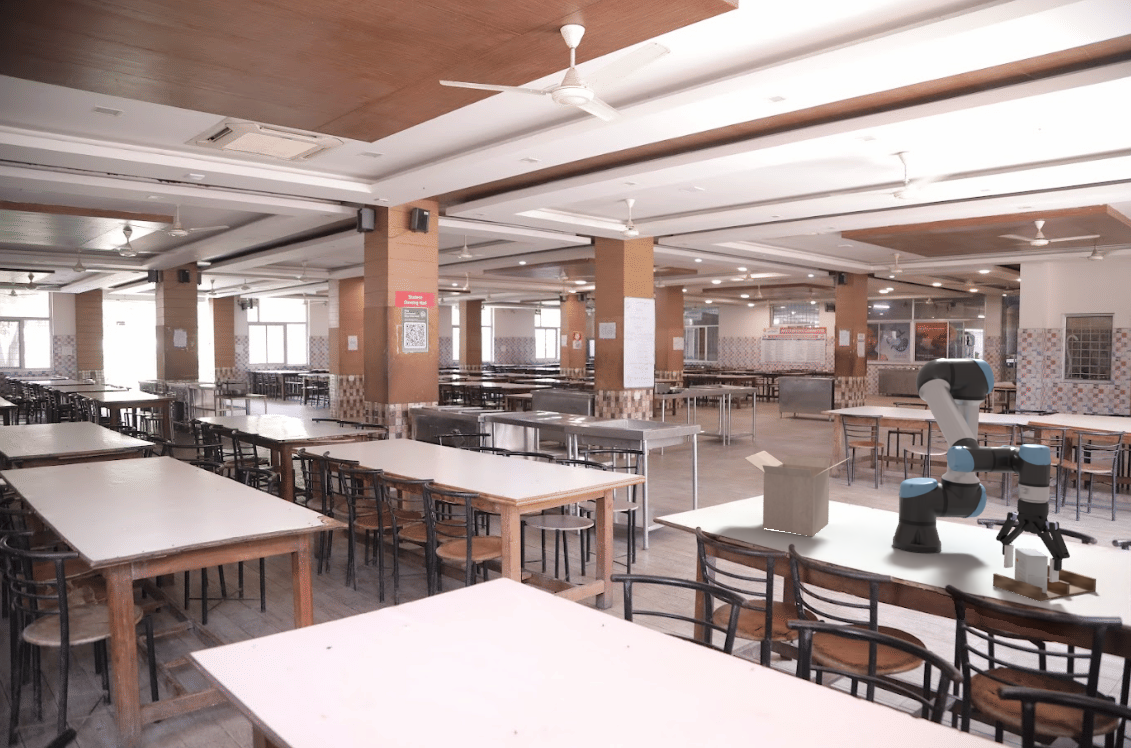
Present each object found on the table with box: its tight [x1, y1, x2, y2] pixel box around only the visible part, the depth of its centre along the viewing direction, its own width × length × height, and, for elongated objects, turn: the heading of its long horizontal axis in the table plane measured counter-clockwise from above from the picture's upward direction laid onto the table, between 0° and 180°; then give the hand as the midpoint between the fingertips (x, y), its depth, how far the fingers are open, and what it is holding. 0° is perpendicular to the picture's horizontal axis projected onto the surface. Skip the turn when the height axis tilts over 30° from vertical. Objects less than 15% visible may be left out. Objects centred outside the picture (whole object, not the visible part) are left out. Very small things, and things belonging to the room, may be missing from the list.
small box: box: [1014, 547, 1049, 593], centre depth 213 cm, size 8×6×10 cm
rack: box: [992, 564, 1097, 602], centre depth 216 cm, size 14×23×4 cm, turn 112°
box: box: [743, 450, 851, 538], centre depth 286 cm, size 33×31×26 cm
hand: (1030, 574), depth 214 cm, fingers open, 13 cm apart
